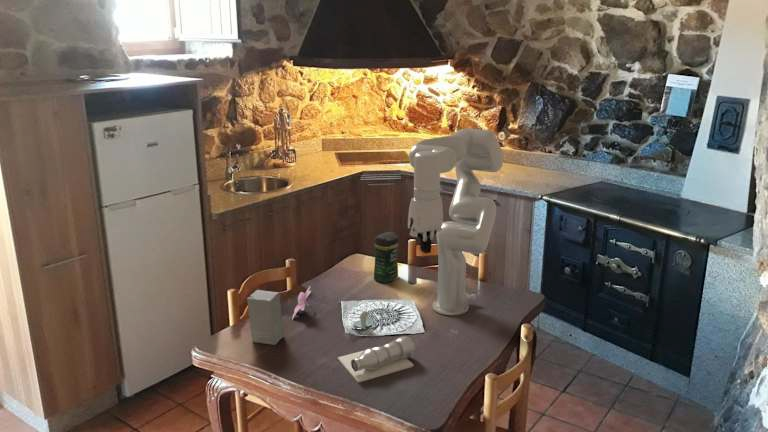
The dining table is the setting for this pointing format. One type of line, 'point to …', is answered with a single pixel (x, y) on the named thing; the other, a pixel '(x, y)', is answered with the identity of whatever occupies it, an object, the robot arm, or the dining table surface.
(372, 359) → the plastic bottle
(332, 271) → the dining table surface
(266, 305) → the skincare box
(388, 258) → the coffee jar
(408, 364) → the mat
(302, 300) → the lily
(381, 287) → the dining table surface
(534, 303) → the dining table surface
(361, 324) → the pacifier
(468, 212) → the robot arm
